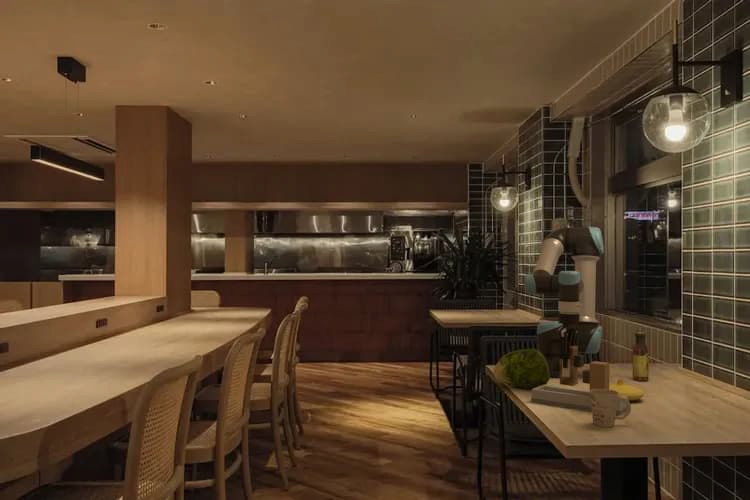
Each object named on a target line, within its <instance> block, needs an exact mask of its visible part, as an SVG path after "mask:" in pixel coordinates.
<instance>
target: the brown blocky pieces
mask: <svg viewBox="0 0 750 500" xmlns="http://www.w3.org/2000/svg"><path fill="white" fill-rule="evenodd" d="M582 383H583V384H589V388H588V389H589V390H581V389H573V388H565V387H560V386H559V387H558V386H551V385H546V384H545V385H541V386H539V387H536V388H531V400H530V403H533V404H540V405H545V406H546V405H547V406H555V407H561V408H567V409H573V410H580V411H586V412H592V409H591V401H590V393H589V391H590V390H591V389H608V390H609V385H610V362H607V361H606V362H605V361H598V360H597V361H596V360H594V361H591V362H590V363H589V369H587V368H586V369H584V370H582ZM618 397H624V398H626V399H627V400H628V397H627V396H620V395H618ZM626 410H627V406H626V404H625V403H624V402H623V401H618V402H617V409H616V416H618V415H620V416H622V415H623V414H625V411H626ZM622 413H623V414H622Z"/></svg>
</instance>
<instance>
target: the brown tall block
mask: <svg viewBox="0 0 750 500" xmlns="http://www.w3.org/2000/svg"><path fill="white" fill-rule="evenodd" d="M569 359H570V377H563V376H562V359H560V378H559V385H562V386H571V387H574V386H575V385H578V383H579V379H578V378H579V377H578V376H579V368H583V367H584V366H585V355H584V354H580V353H578V346H571V345H570V352H569Z"/></svg>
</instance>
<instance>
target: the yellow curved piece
mask: <svg viewBox="0 0 750 500" xmlns="http://www.w3.org/2000/svg"><path fill="white" fill-rule="evenodd" d="M616 381H617V382H616V383H614V384H609V390H614V391H617V392H618V395H620V396H627V397H628V401H629V402H631V401H632V402H633V401H637V400H639V399H643V397H644V395H645V392H644V391H643V389H641V388H638V387H634V386H631V385H628V384H627V385H626V384H625V380H624V379H622V378H621V379H620V378H619V379H617V380H616Z"/></svg>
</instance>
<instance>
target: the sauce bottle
mask: <svg viewBox="0 0 750 500" xmlns="http://www.w3.org/2000/svg"><path fill="white" fill-rule="evenodd" d="M634 337H635V344H634V346H633V348H632V379H633V380H634V381H636V380H637V381H638V382H647V381H649V377H650V376H649V374H650V371H649V368H650V365H649V363H650V360H649V349H648V347H647V344H646V332H635V333H634Z"/></svg>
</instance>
